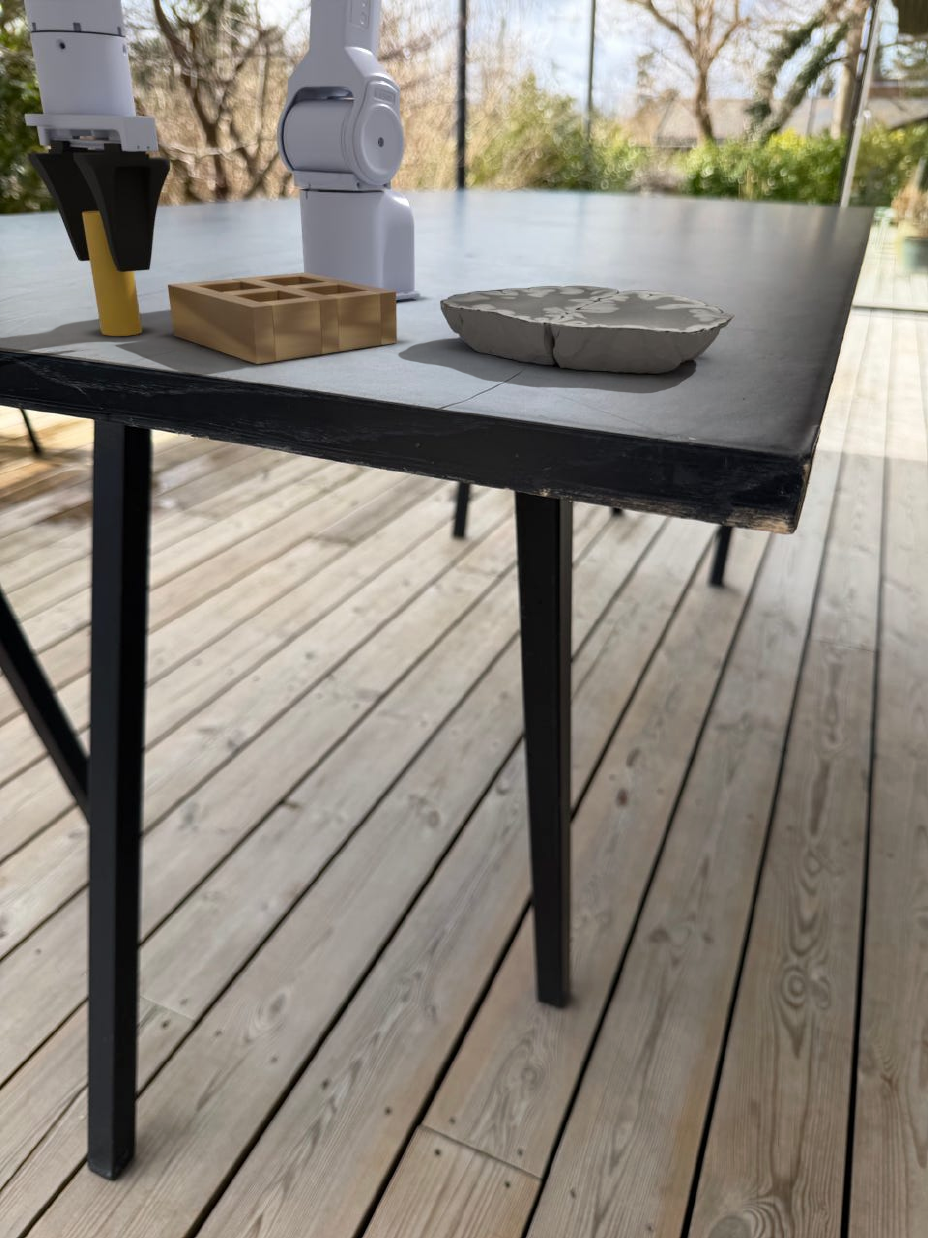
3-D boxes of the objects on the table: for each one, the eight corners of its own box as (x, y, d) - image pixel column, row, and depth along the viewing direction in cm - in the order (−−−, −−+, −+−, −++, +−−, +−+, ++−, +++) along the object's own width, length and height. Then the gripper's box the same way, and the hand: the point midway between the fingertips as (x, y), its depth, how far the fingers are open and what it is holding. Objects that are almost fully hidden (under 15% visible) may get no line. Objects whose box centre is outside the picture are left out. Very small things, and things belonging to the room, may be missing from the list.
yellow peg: (132, 327, 68) (115, 209, 64) (148, 333, 66) (132, 212, 62) (95, 331, 66) (75, 211, 62) (111, 337, 64) (91, 214, 61)
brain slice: (749, 341, 68) (756, 299, 66) (695, 390, 54) (702, 339, 53) (507, 316, 75) (509, 278, 74) (407, 353, 62) (406, 307, 60)
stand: (307, 319, 72) (304, 272, 71) (397, 342, 65) (396, 291, 63) (173, 335, 65) (167, 284, 64) (257, 364, 58) (252, 307, 56)
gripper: (-26, 36, 60) (17, 257, 66) (58, 23, 51) (99, 281, 57) (80, 44, 64) (111, 251, 71) (177, 33, 55) (202, 273, 61)
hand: (113, 264), depth 64 cm, fingers open, 6 cm apart
